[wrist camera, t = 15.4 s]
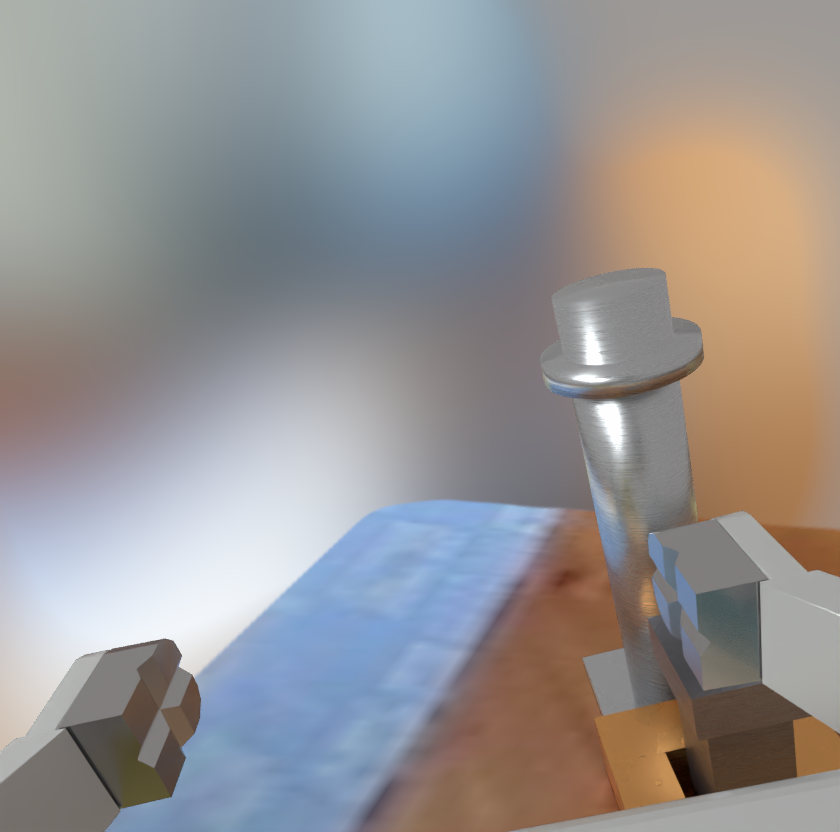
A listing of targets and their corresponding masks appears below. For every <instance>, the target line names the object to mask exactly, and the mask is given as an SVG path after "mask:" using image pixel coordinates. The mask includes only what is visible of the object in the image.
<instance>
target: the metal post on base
mask: <svg viewBox="0 0 840 832" xmlns="http://www.w3.org/2000/svg"><path fill="white" fill-rule="evenodd" d="M552 303H553V308H554V312H555V318H556V323H557V327H558V332H559V337H560V340H558V341H556V342H555V343H553V344H551V345H550V346H549V347H547V348H546V349H545V351H543V353H542V354H541V356H540V365H541V369H542V374H543V378H544V383H545V385H546V387H547V388H548V389H549V390H550V391H552V392H553V393H556V394H558V395H562V396H565V397H570V398H572V400H573V405H574V410H575V415H576V420H577V425H578V430H579V434H580V439H581V444H582V449H583V454H584V458H585V464H586V468H587V473H588V478H589V483H590V488H591V493H592V498H593V502H594V507H595V512H596V517H597V522H598V527H599V532H600V536H601V541H602V546H603V551H604V556H605V561H606V566H607V570H608V575H609V580H610V585H611V590H612V595H613V600H614V604H615V609H616V614H617V619H618V624H619V629H620V634H621V638H622V643H623V648H622V649H618V650H613V651H609V652H605V653H601V654H596V655H592V656H588V657H584V658H583V662H584V667H585V670H586V673H587V676H588V679H589V682H590V684H591V687H592V690H593V693H594V695H595V698H596V701H597V704H598V706H599V709H600V712H601V715H602V716H600V717H596V718H594V721H595V725H596V729H597V734H598V738H599V742H600V746H601V750H602V754H603V758H604V762H605V766H606V771H607V774H608V777H609V780H610V783H611V786H612V789H613V792H614V795H615V798H616V801H617V804H618V807H619V810H620V811H621V810H626V809H631V808H636V807H642V806H647V805H652V804H658V803H663V802H668V801H674V800H679V799H684V798H690V797H694V795H693V789H692V783H691V777H690V771H689V765H688V759H687V753H686V747H685V741H684V735H683V730H682V724H681V718H680V712H679V706H678V702H677V700H676V698H675V696H674V694H673V692H672V690H671V688H670V686H669V684H668V682H667V680H666V678H665V676H664V674H663V672H662V671H661V669H660V667H659V665H658V663H657V661H656V659H655V657H654V654H653V648H652V643H651V637H650V632H649V626H648V621H647V618H648V617H652V616H657V615H661V613H660V611H659V608H658V605H657V601H656V597H655V594H654V588H653V581H652V576H653V574H654V572H655V571H656V569H657V566H656V564H655V563H654V561H653V560H652V558H651V556H650V555H649V546H648V538H649V533H654V532H658V531H663V530H667V529H672V528H676V527H681V526H685V525H690V524H694V523H698V514H697V507H696V500H695V492H694V485H693V477H692V469H691V462H690V454H689V447H688V439H687V432H686V425H685V417H684V410H683V402H682V394H681V387H680V379H682V378H684V377H686V376H688V375H689V374H691V373H692V372H693V371H695V370H696V369H697V368H698V367H699V366H700V365H701V363H702V361H703V359H704V352H703V343H702V334H701V329H700V327H699V326H698V325H697V324H695V323H693V322H691V321H689V320H685V319H680V318H674V317H671V312H670V304H669V297H668V289H667V281H666V274H665V272H664V271H662V270H660V269H654V268H636V269H627V270H620V271H614V272H609V273H604V274H600V275H596V276H593V277H589V278H586V279H583V280H580V281H577V282H574V283H572V284H570V285H567V286H565V287H563V288H561V289H560V290H558V291H557V292H556V293H554V294H553V296H552ZM793 727H794V740H795V754H796V767H797V777H801V776H806V775H812V774H817V773H822V772H828V771H833V770H838V769H840V737H839V736H838V734H837V733H836V732H835V731H834V730H833V729H832V728H830V727H829V726H827V725H826V724H824V723H823V722H821V721H820V720H818V719H816V718H815V717H813V716H811V717H806V718H802V719H797V720H793Z"/></svg>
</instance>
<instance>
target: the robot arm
mask: <svg viewBox="0 0 840 832" xmlns="http://www.w3.org/2000/svg"><path fill="white" fill-rule="evenodd" d="M648 546H649V555H650V556H651V558H652V560H653V561H654V563H655V564H656V566H657V569H656V571H655V572H654V574H653V576H652V581H653V588H654V594H655V597H656V601H657V605H658V608H659V611H660V613H661V616H662V618H663V620H664V623H665V624H666V626H667V628H668V630H669V632H670V633H671V635H673V636H674V637H676V638H678V639H680V640H682V647H683V656H684V658H685V660H686V661H687V663H688V665H689V667H690V668H691V670H692V672H693V673H694V675H695V677H696V678H697V680H698V682H699V684H700V685H701V687H702V689H703V690H710V689H716V688H721V687H727V686H733V685H739V684H745V683H751V682H757V681H762V683H763V684H764V685H766V686H767V687H769V688H770V689H772V690H773V691H775V692H777V693H778V694H780V695H781V696H783V697H784V698H786V699H787V700H789V701H790V702H792V703H793V704H795V705H796V706H798V707H800V708H801V709H803V710H804V711H806V712H807V713H809V714H810V715H812V716H813V717H815V718H816V719H818V720H820V721H821V722H823V723H824V724H826V725H827V726H829V727H830V728H832V729H833V730H835V731H836V732H838V733H840V577H837V576H834V575H831V574H828V573H825V572H823V571H820V570H815V571H810V572H808V571H807V570H806V569H805V568H804V567H803V566H802V565H801V564H800V563H799V562H797V561H796V560H795V559H794V558H793V557H792V556H791V555H790V554H789V553H788V552H787V551H786V550H785V549H784V548H783V547H782V546H781V545H780V544H779V543H778V542H777V541H776V540H775V539H774V538H773V537H772V536H771V535H770V534H769V533H768V532H767V531H766V530H765V529H764V528H763V527H762V526H761V525H760V524H759V523H758V522H757V521H756V520H755V519H754V518H753V517H752V516H751V515H750V514H749V513H746V512H744V511H740V512H736V513H732V514H728V515H724V516H720V517H716V518H711V520H707V521H703V522H698V523H694V524H690V525H685V526H681V527H676V528H672V529H667V530H663V531H658V532H654V533H649V538H648ZM181 657H182V655H181V653H180V651H179V649H178V648H177V646H176V644H175V643H174V641H172V640H168V639H161V640H155V641H150V642H145V643H140V644H135V645H130V646H125V647H119V648H114V649H111V650H105V651H101V652H96V653H91V654H86V655H84V656H82V657H80V658H79V659H77V660H75V662H74V663H73V665H72V666H71V668H70V669H69V671H68V673H67V674H66V675H65V677H64V679H63V680H62V681H61V683H60V684H59V686H58V687H57V689H56V691H55V692H54V694H53V695H52V697H51V698H50V700H49V701H48V703H47V704H46V706H45V707H44V709H43V710H42V712H41V713H40V715H39V716H38V718H37V719H36V721H35V722H34V724H33V726H32V727H31V728H30V730H29V731H28V733H27V734H26V736H25V737H21V738H16V739H15V740H14V741H12V742H11V743H10V744H9V745H7V746H6V747H5V748H4V749H3V750H1V751H0V832H104V831H105V830H106V829H107V828H108V827H109V825H110V824H111V823H112V822H113V820H114V819H115V818H116V817H117V815H118V814H119V813H120V809H121V808H126V807H130V806H134V805H139V804H143V803H147V802H151V801H156V800H160V799H164V798H169V797H172V794H173V791H174V789H175V786H176V783H177V780H178V778H179V775H180V772H181V769H182V767H183V764H184V761H185V758H186V757H185V755H184V753H183V750H182V748H181V747H182V746H183V745H184V744H185V743H186V742H187V741H188V740H189V739H190V738H191V737H192V735H193V734H194V733H195V731H196V728H197V725H198V722H199V719H200V704H201V698H200V694H199V690H198V685H197V683H196V681H195V679H194V677H193V675H192V674H190V673H188V672H187V671H185V670H183V669H181V668H180V667H179V663H180V660H181ZM509 832H840V769H838V770H833V771H828V772H822V773H817V774H812V775H806V776H801V777H796V778H790V779H785V780H780V781H774V782H769V783H764V784H759V785H753V786H748V787H743V788H737V789H732V790H727V791H721V792H716V793H711V794H706V795H700V796H695V797H690V798H684V799H679V800H674V801H668V802H663V803H658V804H652V805H647V806H642V807H636V808H631V809H626V810H621V811H615V812H610V813H605V814H599V815H594V816H589V817H583V818H578V819H573V820H567V821H562V822H557V823H551V824H546V825H541V826H536V827H530V828H525V829H520V830H514V831H509Z"/></svg>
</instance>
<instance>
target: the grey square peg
mask: <svg viewBox="0 0 840 832" xmlns="http://www.w3.org/2000/svg"><path fill="white" fill-rule="evenodd" d="M647 621H648V626H649V632H650V637H651V643H652V648H653V654H654V657H655V659H656V661H657V663H658V665H659V667H660V669H661V671H662V672H663V674H664V676H665V678H666V680H667V682H668V684H669V686H670V688H671V690H672V692H673V694H674V696H675V698H676V700H677V702H678V706H679V712H680V718H681V724H682V730H683V735H684V741H685V747H686V753H687V759H688V765H689V771H690V777H691V783H692V789H693V795H694V797H695V796H700V795H706V794H711V793H716V792H721V791H727V790H732V789H737V788H743V787H748V786H753V785H759V784H764V783H769V782H774V781H780V780H785V779H790V778H796V777H797V767H796V754H795V740H794V727H793V720H797V719H802V718H806V717H811V716H812V715H810V714H809V713H807V712H806V711H804V710H803V709H801V708H800V707H798V706H796V705H795V704H793V703H792V702H790V701H789V700H787V699H786V698H784V697H783V696H781V695H780V694H778V693H777V692H775V691H773V690H772V689H770V688H769V687H767V686H766V685H764V684H763V683H762V681H757V682H751V683H745V684H739V685H733V686H727V687H721V688H716V689H710V690H703V689H702V687H701V685H700V684H699V682H698V680H697V678H696V677H695V675H694V673H693V672H692V670H691V668H690V667H689V665H688V663H687V661H686V660H685V658H684V656H683V647H682V640H680V639H678V638H676V637H674V636H673V635H671V633H670V632H669V630H668V628H667V626H666V624H665V623H664V620H663V618H662V616H661V615H657V616H652V617H648V618H647Z"/></svg>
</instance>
